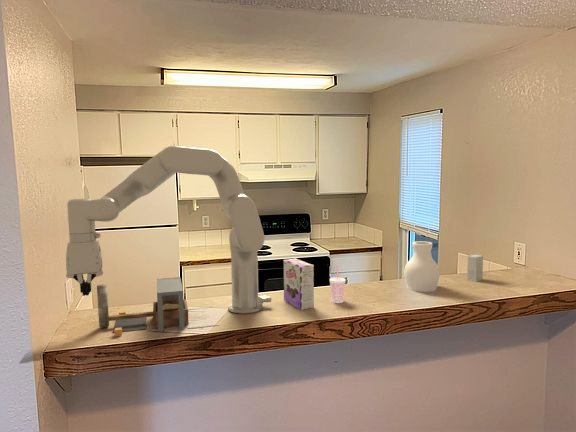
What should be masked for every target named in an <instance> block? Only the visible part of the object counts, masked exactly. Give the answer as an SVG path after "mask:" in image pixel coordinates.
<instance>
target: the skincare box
mask: <svg viewBox="0 0 576 432" xmlns="http://www.w3.org/2000/svg"><path fill="white" fill-rule="evenodd" d="M483 267H484V256H483V255H481V254H475V253H474V254H471V255H468V256H467V268H466V269H467V273H466V275H467V279H466V280H467V281H470V282H476V283H477V282H480V281H482V280H483V277H484V276H483V273H484V272H483V270H484V269H483Z"/></svg>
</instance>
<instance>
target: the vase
mask: <svg viewBox="0 0 576 432" xmlns="http://www.w3.org/2000/svg"><path fill="white" fill-rule="evenodd" d="M411 243H412V244H411V245H412V249H413V255H412V257H411V258H410V259H409V260H408V261H407V262H406V264H405V266H404V270H403V271H404V272H403V273H404V274H403V276H404V280H405V284H406V285H405V286H406V288H407V289H408V290H411V291H414V292H420V293H421V292H422V293H424V292H426V293H429V292H434V291H436V290H437V287H438V285H439V280H440V274H441V273H440V272H441V270H440V266H439V264H438V263H437V262H436V261H435V259H434V258H433V256H432V253H431V251H432V249H433V242H431V241H425V240H424V241H421V240H418V241H417V240H416V241H413V242H411Z"/></svg>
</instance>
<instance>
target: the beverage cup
mask: <svg viewBox="0 0 576 432" xmlns="http://www.w3.org/2000/svg"><path fill="white" fill-rule="evenodd" d="M329 283H330V285H329V286H330V298H331V301H330V302H331V303H335V304H341V303H343V302H344V298H345V285H346V284H345V283H346V278H344V277H339V266H338V265H337V266H336V277H335V276H334V277H331V278H329Z"/></svg>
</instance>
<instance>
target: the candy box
mask: <svg viewBox="0 0 576 432" xmlns="http://www.w3.org/2000/svg"><path fill="white" fill-rule="evenodd" d="M282 261H283V301H284V302H287V303H288V304H290V305H291V306H292V307H295V308H297V309H298V310H300V311H301V310H308V309H313V308H314V306H315V305H314V302H315V301H314V298H315V297H314V296H315V295H314V293H315V292H314V289H315V288H314V286H315V285H314V283H315V282H314V281H315V278H314V277H315V274H314V273H315V268H314V267H315V266H314V265H315V264H311V263H308V262H306V261H304V260H301V259H298V258H289V259H283V260H282Z"/></svg>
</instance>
